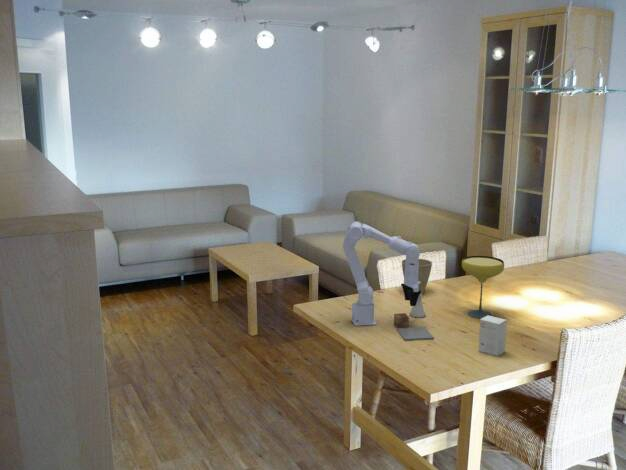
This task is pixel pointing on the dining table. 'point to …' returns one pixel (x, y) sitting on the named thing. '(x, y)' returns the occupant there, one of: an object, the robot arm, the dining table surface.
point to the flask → (418, 309)
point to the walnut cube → (401, 320)
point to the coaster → (415, 333)
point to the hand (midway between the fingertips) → (410, 302)
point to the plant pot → (421, 272)
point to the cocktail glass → (482, 275)
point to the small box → (492, 335)
